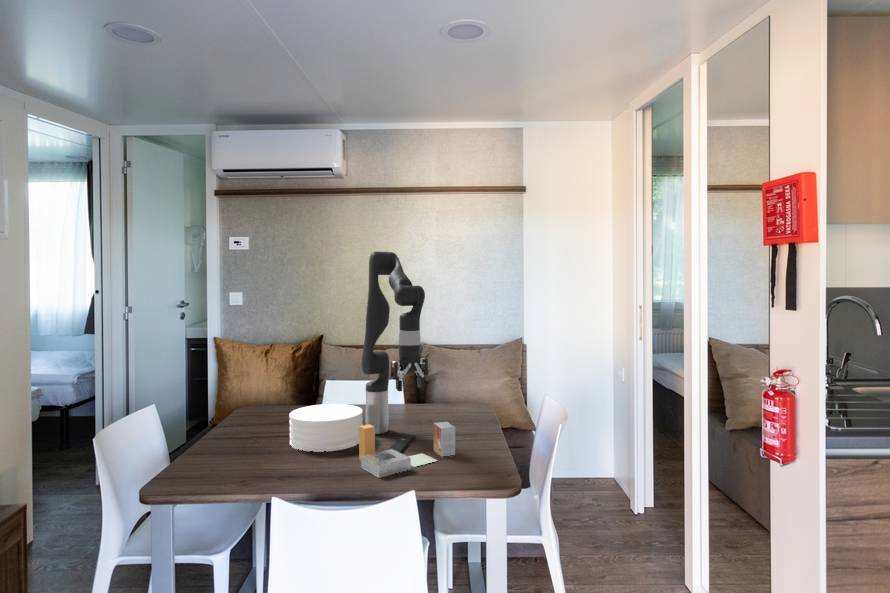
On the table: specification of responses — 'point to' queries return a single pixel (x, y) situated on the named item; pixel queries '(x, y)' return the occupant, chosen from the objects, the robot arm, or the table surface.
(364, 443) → the key peg
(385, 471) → the socket block
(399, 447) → the remote control
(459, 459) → the table surface
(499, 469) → the table surface
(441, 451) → the small box
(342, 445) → the plate stack
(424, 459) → the mat
